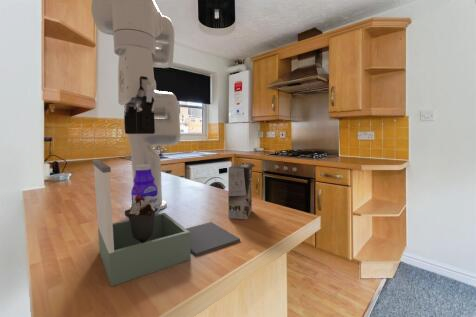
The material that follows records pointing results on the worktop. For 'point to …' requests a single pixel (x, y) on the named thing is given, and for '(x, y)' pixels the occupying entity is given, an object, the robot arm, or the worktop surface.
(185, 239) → the open box
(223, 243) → the mat
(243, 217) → the coffee box
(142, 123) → the robot arm
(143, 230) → the sundae
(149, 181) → the bottle
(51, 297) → the worktop surface
